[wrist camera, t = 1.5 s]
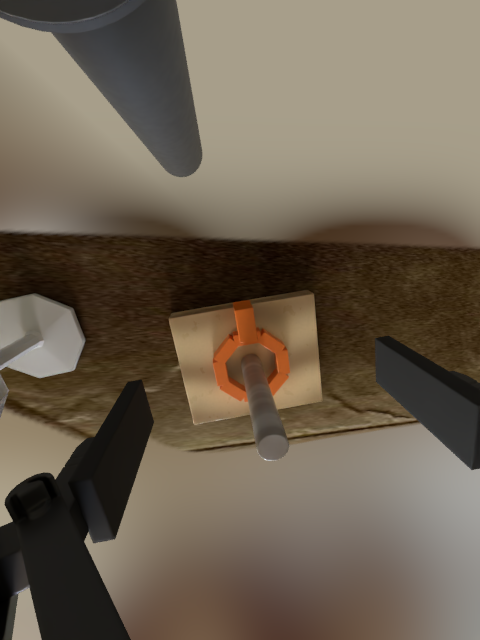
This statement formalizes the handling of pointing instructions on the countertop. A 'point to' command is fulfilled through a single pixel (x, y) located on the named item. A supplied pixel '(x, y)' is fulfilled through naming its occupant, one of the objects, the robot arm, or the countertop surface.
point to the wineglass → (38, 338)
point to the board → (222, 323)
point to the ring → (248, 336)
